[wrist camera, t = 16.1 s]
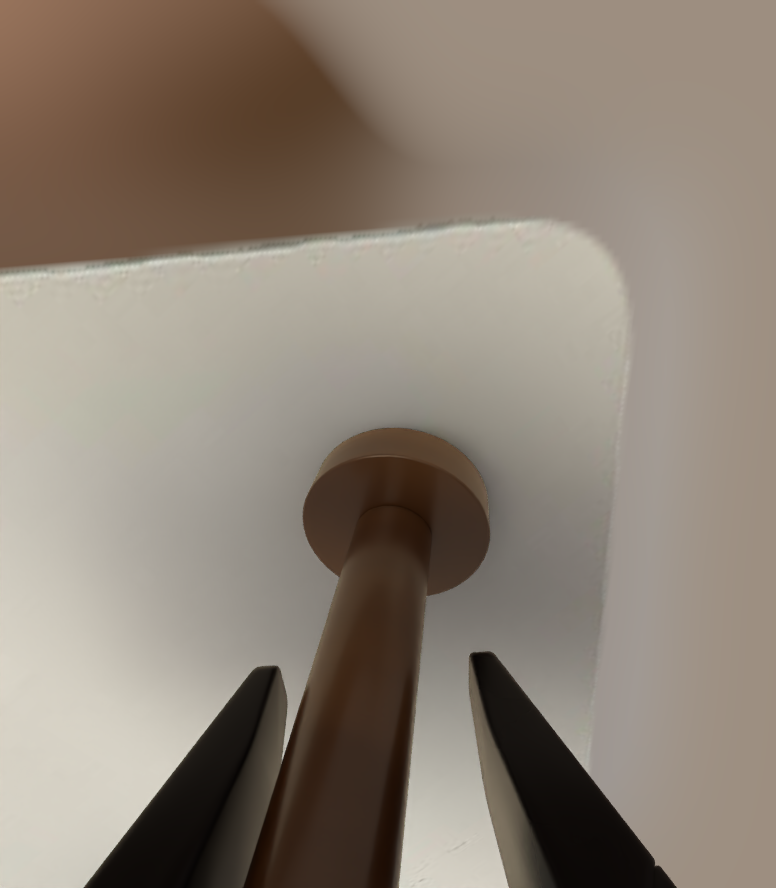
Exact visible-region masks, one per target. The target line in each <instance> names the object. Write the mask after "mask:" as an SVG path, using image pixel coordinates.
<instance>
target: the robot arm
mask: <svg viewBox="0 0 776 888" xmlns="http://www.w3.org/2000/svg"><path fill="white" fill-rule="evenodd" d="M469 694H470V701H471V708H472V714H473V721H474V727H475V734H476V740H477V746H478V753H479V759H480V766H481V772H482V779H483V784H484V790H485V795H486V800H487V804H488V808H489V812H490V816H491V820H492V824H493V828H494V832H495V836H496V839H497V843H498V847H499V851H500V855H501V859H502V863H503V866H504V870H505V874H506V878H507V882H508V886H509V888H677V887H676V886H675V885H674V883H673V882H672V881H671V880H670V878H669V877H668V876H667V874H666V873H665V872H664V871H663V869H662V868H661V867H660V866H655V860H654V858H653V857H652V856H651V854H650V853H649V852H648V850H647V849H646V848H645V847H644V845H643V844H642V843H641V841H640V840H639V839H638V838H637V836H636V835H635V834H634V832H633V831H632V830H631V829H630V827H629V826H628V825H627V823H626V822H625V821H624V820H623V818H622V817H621V816H620V814H619V813H618V812H617V811H616V809H615V808H614V807H613V806H612V804H611V803H610V802H609V800H608V799H607V798H606V797H605V795H604V794H603V793H602V791H601V790H600V789H599V788H598V786H597V785H596V784H595V782H594V781H593V780H592V779H591V777H590V776H589V775H588V773H587V772H586V771H585V770H584V768H583V767H582V766H581V764H580V763H579V762H578V761H577V759H576V758H575V757H574V755H573V754H572V753H571V752H570V750H569V749H568V748H567V746H566V745H565V744H564V743H563V741H562V740H561V739H560V737H559V736H558V735H557V734H556V732H555V731H554V730H553V728H552V727H551V726H550V725H549V723H548V722H547V721H546V719H545V718H544V717H543V716H542V714H541V713H540V712H539V710H538V709H537V708H536V707H535V705H534V704H533V703H532V702H531V700H530V699H529V698H528V696H527V695H526V694H525V693H524V691H523V690H522V689H521V687H520V686H519V685H518V684H517V682H516V681H515V680H514V678H513V677H512V676H511V675H510V673H509V672H508V671H507V669H506V668H505V667H504V666H503V664H502V663H501V662H500V660H499V659H498V658H497V657H496V655H495V654H494V653H492V652H490V651H485V652H473V653H471V654H470V655H469ZM286 717H287V695H286V690H285V686H284V682H283V678H282V674H281V671H280V668H279V667H278V666H260V667H257V668H255V669H254V670H253V671H252V672H251V673H250V674H249V676H248V677H247V678H246V680H245V681H244V682H243V683H242V685H241V686H240V687H239V689H238V690H237V691H236V692H235V694H234V695H233V696H232V698H231V699H230V700H229V701H228V703H227V704H226V705H225V707H224V708H223V709H222V710H221V712H220V713H219V714H218V716H217V717H216V718H215V719H214V721H213V722H212V723H211V725H210V726H209V727H208V728H207V730H206V731H205V732H204V734H203V735H202V736H201V737H200V739H199V740H198V741H197V743H196V744H195V745H194V746H193V748H192V749H191V750H190V752H189V753H188V754H187V755H186V757H185V758H184V759H183V761H182V762H181V763H180V764H179V766H178V767H177V768H176V770H175V771H174V772H173V773H172V775H171V776H170V777H169V779H168V780H167V781H166V782H165V784H164V785H163V786H162V788H161V789H160V790H159V791H158V793H157V794H156V795H155V797H154V798H153V799H152V800H151V802H150V803H149V804H148V806H147V807H146V808H145V809H144V811H143V812H142V813H141V815H140V816H139V817H138V818H137V820H136V821H135V822H134V824H133V825H132V826H131V827H130V829H129V830H128V831H127V833H126V834H125V835H124V836H123V838H122V839H121V840H120V842H119V843H118V844H117V845H116V847H115V848H114V849H113V851H112V852H111V853H110V854H109V856H108V857H107V858H106V860H105V861H104V862H103V863H102V865H101V866H100V867H99V869H98V870H97V871H96V872H95V874H94V875H93V876H92V878H91V879H90V880H89V881H88V883H87V884H86V885H85V887H84V888H243V886H244V883H245V880H246V877H247V873H248V870H249V867H250V864H251V860H252V857H253V854H254V851H255V848H256V844H257V841H258V838H259V835H260V832H261V828H262V825H263V822H264V819H265V816H266V812H267V809H268V806H269V803H270V799H271V796H272V793H273V790H274V787H275V783H276V780H277V777H278V774H279V771H280V767H281V762H282V753H283V744H284V735H285V726H286Z"/></svg>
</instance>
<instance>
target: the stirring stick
mask: <svg viewBox="0 0 776 888" xmlns="http://www.w3.org/2000/svg"><path fill="white" fill-rule="evenodd" d="M303 526H304V530H305V534H306V537H307V540H308V542H309V544H310V546H311V548H312V549H313V551H314V553H315V554H316V555H317V557H318V558H319V559H320V560H321V562H322V563H323V564H324V565H325V566H326V567H327V568H329V569H330V570H331V571H332V572H333V573H335V574H336V575H337V576H339V577H340V578H339V581H338V584H337V587H336V591H335V594H334V597H333V600H332V604H331V607H330V610H329V613H328V616H327V620H326V623H325V626H324V629H323V632H322V636H321V639H320V642H319V645H318V649H317V652H316V655H315V658H314V661H313V665H312V668H311V671H310V674H309V677H308V681H307V684H306V687H305V690H304V693H303V697H302V700H301V703H300V706H299V710H298V713H297V716H296V719H295V722H294V726H293V729H292V732H291V735H290V738H289V742H288V745H287V748H286V751H285V755H284V758H283V761H282V764H281V767H280V771H279V774H278V777H277V780H276V783H275V787H274V790H273V793H272V796H271V799H270V803H269V806H268V809H267V812H266V816H265V819H264V822H263V825H262V828H261V832H260V835H259V838H258V841H257V844H256V848H255V851H254V854H253V857H252V860H251V864H250V867H249V870H248V873H247V877H246V880H245V883H244V886H243V888H399V879H400V869H401V858H402V848H403V837H404V827H405V817H406V806H407V796H408V785H409V775H410V764H411V754H412V743H413V733H414V722H415V712H416V701H417V691H418V681H419V670H420V660H421V649H422V639H423V628H424V618H425V607H426V597H427V596H430V595H434V594H439V593H441V592H444V591H447V590H450V589H452V588H454V587H456V586H458V585H459V584H461V583H462V582H464V581H465V580H467V579H468V578H469V577H470V576H471V575H472V574H473V573H474V572H475V571H476V570H477V569H478V568H479V566H480V565H481V563H482V561H483V560H484V558H485V556H486V553H487V550H488V547H489V542H490V522H489V506H488V496H487V490H486V487H485V484H484V481H483V479H482V477H481V475H480V473H479V472H478V470H477V469H476V467H475V466H474V465H473V463H472V462H471V461H470V460H469V459H468V458H467V457H466V456H465V455H464V454H463V453H462V452H460V451H459V450H458V449H457V448H456V447H454V446H452V445H451V444H449V443H448V442H446V441H444V440H442V439H440V438H438V437H436V436H433V435H430V434H427V433H424V432H421V431H416V430H412V429H404V428H382V429H375V430H371V431H367V432H363V433H360V434H358V435H355V436H353V437H351V438H349V439H347V440H346V441H344V442H342V443H341V444H340V445H338V446H337V447H336V448H334V450H333V451H332V452H331V453H330V454H329V455H328V456H327V457H326V459H325V460H324V462H323V463H322V465H321V467H320V470H319V472H318V474H317V476H316V478H315V480H314V482H313V484H312V486H311V488H310V490H309V492H308V494H307V497H306V499H305V503H304V507H303Z"/></svg>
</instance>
